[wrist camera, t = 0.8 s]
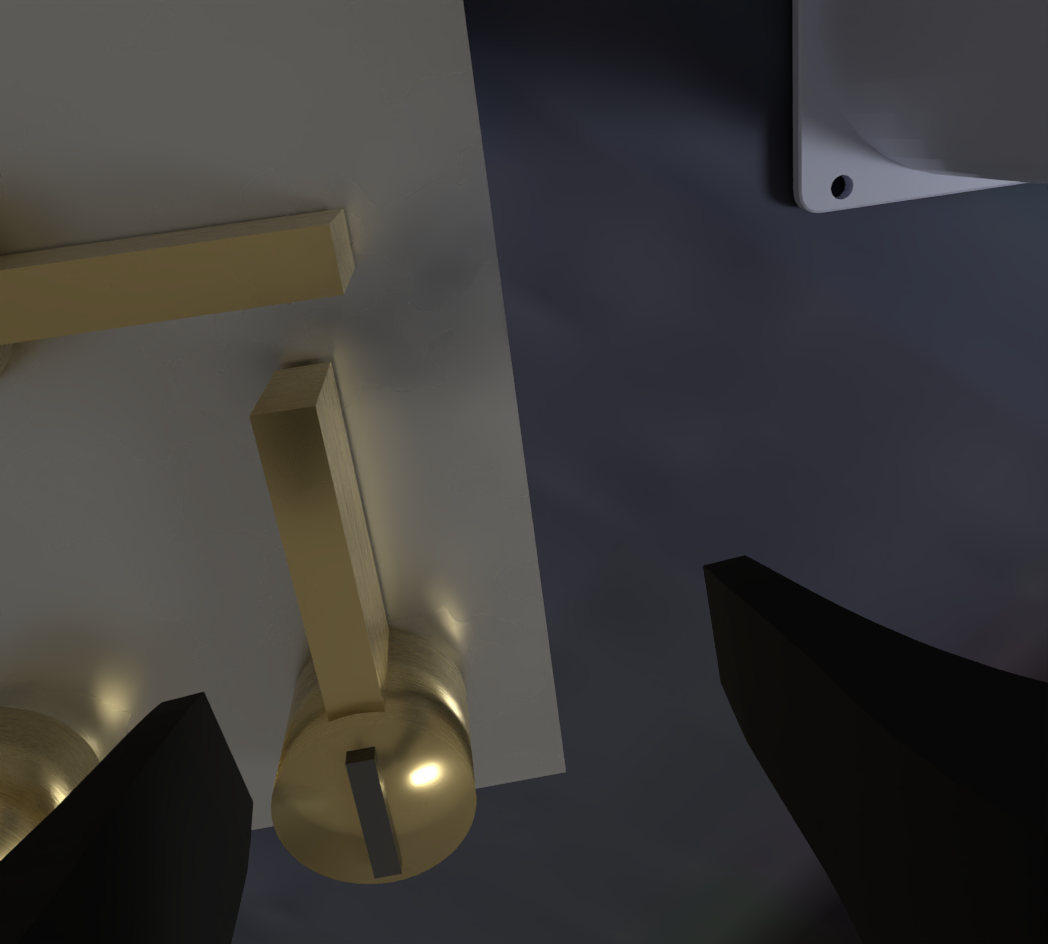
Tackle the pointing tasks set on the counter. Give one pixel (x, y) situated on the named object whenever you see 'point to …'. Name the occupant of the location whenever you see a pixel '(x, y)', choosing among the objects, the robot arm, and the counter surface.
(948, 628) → the counter surface
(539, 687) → the levelling plate
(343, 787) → the knob
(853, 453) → the counter surface
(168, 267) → the knob
